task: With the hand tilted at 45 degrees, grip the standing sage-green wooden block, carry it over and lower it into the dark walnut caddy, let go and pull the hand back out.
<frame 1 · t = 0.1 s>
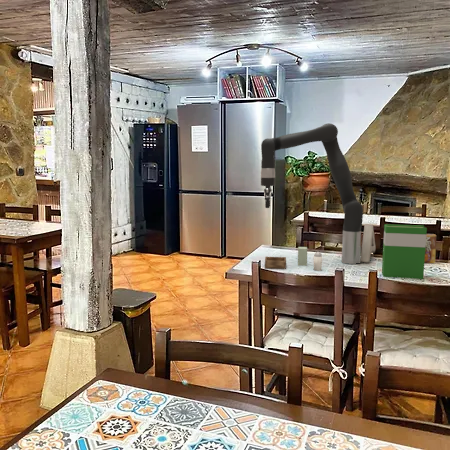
hand: (267, 207, 243), 29 cm above the table, tool pointing down, fingers open, 8 cm apart
candy box: (425, 262, 243), on the table
wall bracket: (368, 257, 257), on the table
sage block: (302, 264, 237), on the table
salt shaker: (317, 269, 227), on the table
hardback book: (401, 276, 216), on the table
walnut caddy: (275, 266, 233), on the table
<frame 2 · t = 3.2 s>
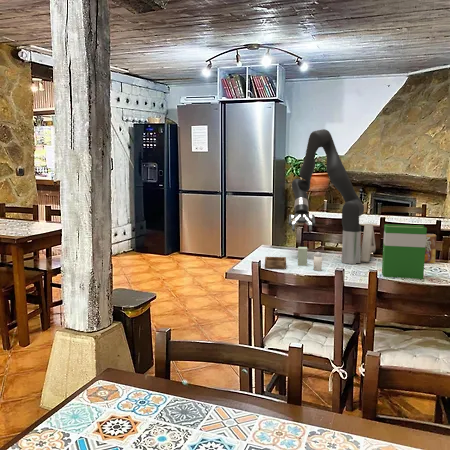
hand: (301, 231, 245), 16 cm above the table, tool tilted 45°, fingers open, 8 cm apart
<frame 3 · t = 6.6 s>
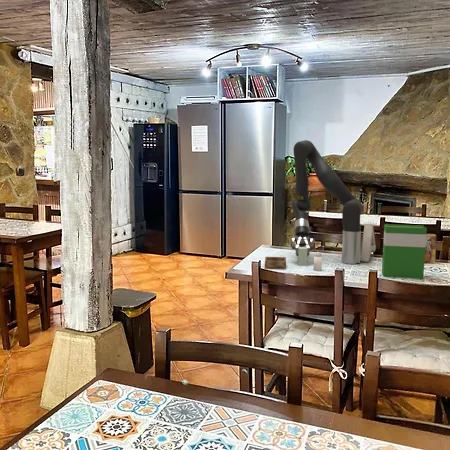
hand: (302, 255, 235), 5 cm above the table, tool tilted 45°, fingers closed on sage block, 4 cm apart
sage block: (302, 264, 237), on the table, touching gripper
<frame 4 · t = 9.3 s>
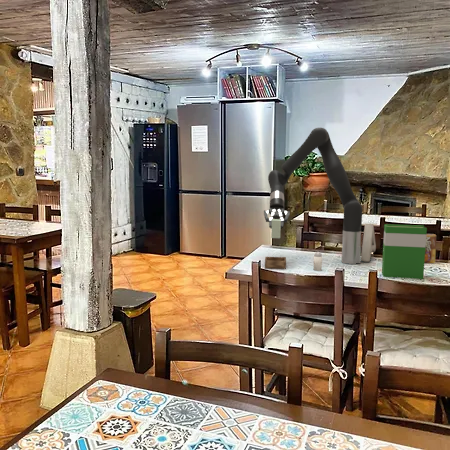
hand: (276, 227, 229), 20 cm above the table, tool tilted 45°, fingers closed on sage block, 4 cm apart
sage block: (275, 237, 231), point 15 cm above the table, touching gripper
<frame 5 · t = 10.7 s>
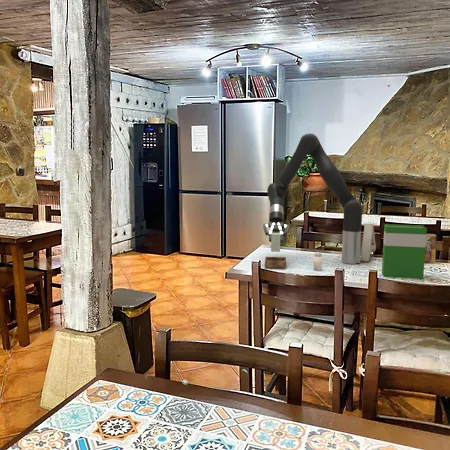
hand: (275, 241, 230), 13 cm above the table, tool tilted 45°, fingers closed on sage block, 4 cm apart
sage block: (275, 250, 232), point 8 cm above the table, touching gripper
when the fingers open (7 cm above the table, at t = 12.1 s): sage block drops 2 cm, resting on walnut caddy.
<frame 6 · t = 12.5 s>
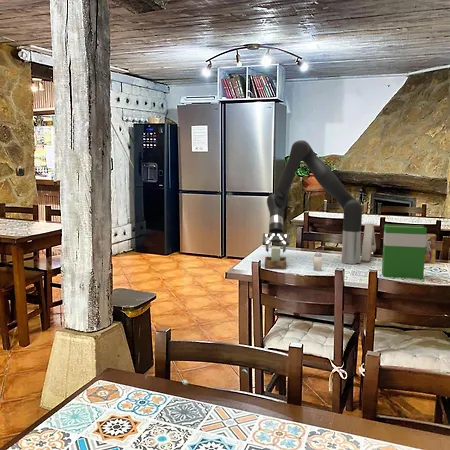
hand: (275, 251, 231), 8 cm above the table, tool tilted 45°, fingers open, 7 cm apart
sage block: (275, 264, 233), point 1 cm above the table, touching walnut caddy
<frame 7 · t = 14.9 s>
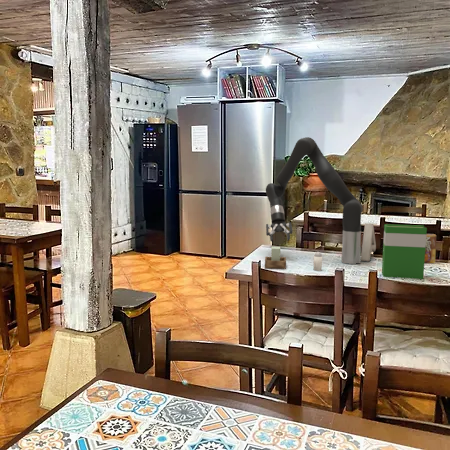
hand: (280, 240, 244), 11 cm above the table, tool tilted 40°, fingers open, 8 cm apart
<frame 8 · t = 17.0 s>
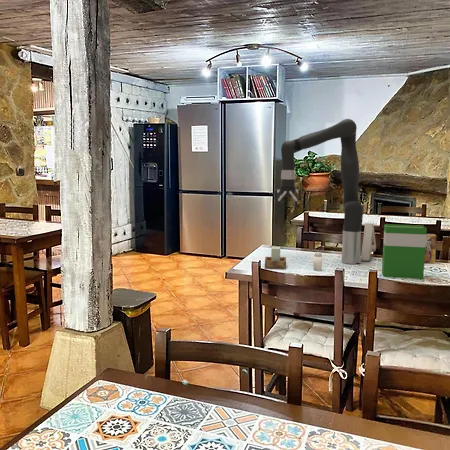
hand: (287, 208, 248), 28 cm above the table, tool pointing down, fingers open, 8 cm apart
at the end: sage block inside the target area on the walnut caddy (0.2 cm from its centre), point 0.8 cm above the walnut caddy's base; sage block tilted 0°; the gripper is holding nothing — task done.
